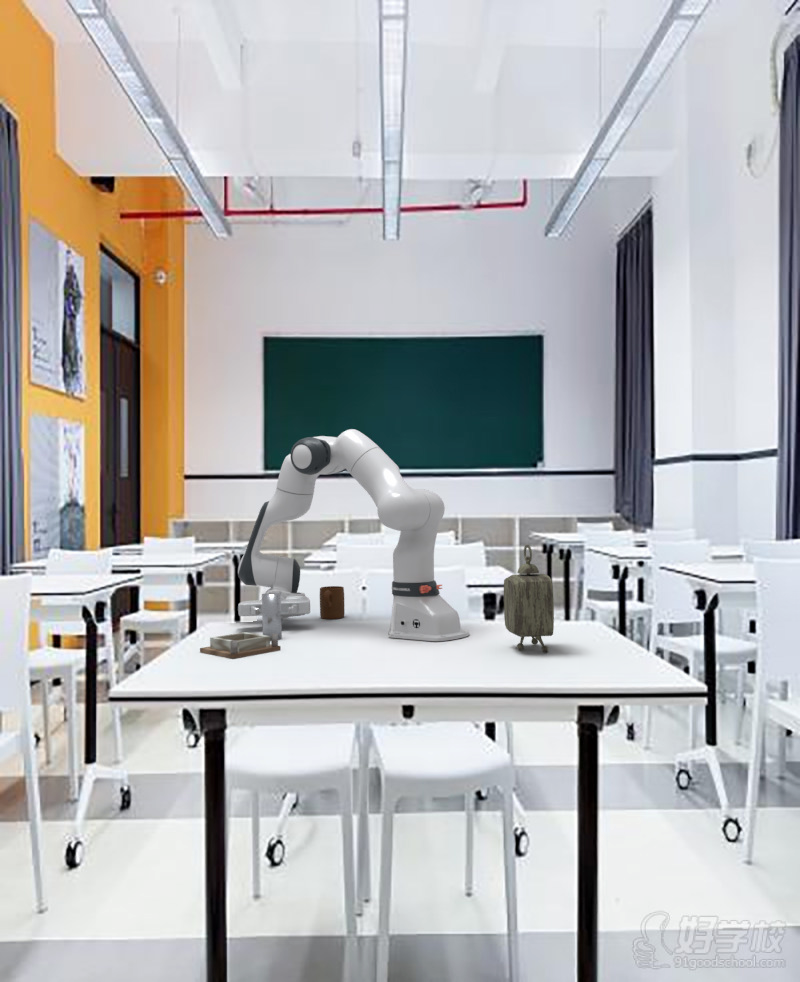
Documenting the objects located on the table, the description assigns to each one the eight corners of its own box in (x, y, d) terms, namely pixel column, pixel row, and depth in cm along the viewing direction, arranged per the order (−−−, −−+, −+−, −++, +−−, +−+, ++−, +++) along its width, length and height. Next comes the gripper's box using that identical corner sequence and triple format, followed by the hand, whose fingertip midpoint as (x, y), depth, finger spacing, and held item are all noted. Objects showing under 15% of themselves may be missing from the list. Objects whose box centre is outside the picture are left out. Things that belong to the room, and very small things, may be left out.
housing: (280, 650, 211) (280, 633, 211) (233, 658, 201) (232, 641, 201) (246, 644, 220) (246, 628, 220) (200, 652, 210) (199, 635, 210)
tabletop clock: (554, 654, 197) (552, 546, 197) (516, 655, 197) (513, 547, 197) (540, 643, 212) (537, 542, 212) (504, 644, 211) (501, 543, 211)
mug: (338, 621, 256) (338, 590, 256) (314, 621, 257) (313, 590, 257) (346, 615, 268) (346, 585, 268) (323, 616, 269) (322, 586, 269)
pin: (285, 638, 228) (284, 593, 228) (270, 641, 224) (269, 595, 224) (274, 636, 231) (273, 592, 231) (259, 639, 228) (258, 594, 228)
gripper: (239, 595, 248) (235, 601, 234) (310, 592, 250) (309, 598, 236) (239, 617, 248) (235, 624, 234) (310, 614, 250) (310, 621, 236)
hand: (273, 611), depth 235 cm, fingers open, 8 cm apart
